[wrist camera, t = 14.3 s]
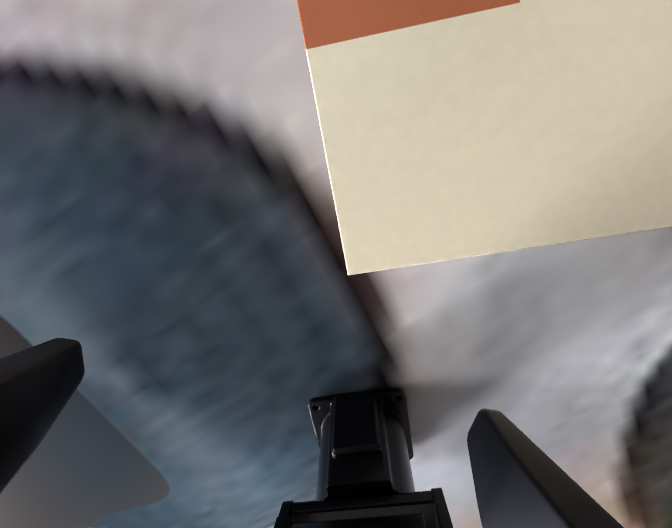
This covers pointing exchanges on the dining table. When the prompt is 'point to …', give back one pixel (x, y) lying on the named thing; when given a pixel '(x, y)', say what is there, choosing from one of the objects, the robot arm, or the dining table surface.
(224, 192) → the dining table surface
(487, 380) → the dining table surface
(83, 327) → the dining table surface
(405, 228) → the mat
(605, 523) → the robot arm
